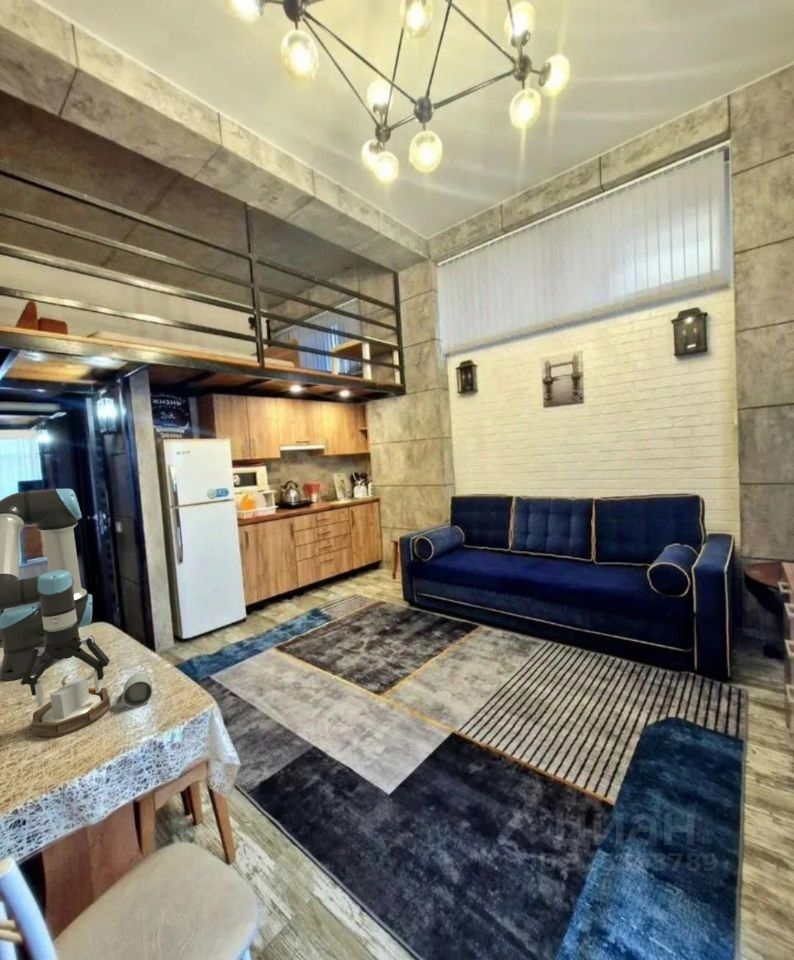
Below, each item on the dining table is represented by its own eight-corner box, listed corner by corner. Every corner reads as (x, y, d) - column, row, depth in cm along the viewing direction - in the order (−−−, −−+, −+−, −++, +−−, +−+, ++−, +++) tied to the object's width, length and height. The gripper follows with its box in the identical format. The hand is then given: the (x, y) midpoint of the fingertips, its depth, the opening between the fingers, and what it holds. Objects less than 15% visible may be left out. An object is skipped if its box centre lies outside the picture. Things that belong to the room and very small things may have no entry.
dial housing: (34, 716, 124) (32, 704, 124) (107, 691, 135) (106, 679, 135) (30, 748, 110) (28, 734, 110) (113, 717, 121) (111, 704, 121)
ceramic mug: (152, 689, 134) (149, 666, 134) (154, 702, 127) (150, 677, 127) (112, 702, 129) (109, 679, 128) (111, 716, 122) (108, 691, 121)
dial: (75, 727, 115) (71, 699, 115) (28, 728, 116) (24, 700, 115) (112, 697, 129) (108, 671, 128) (69, 698, 130) (66, 673, 129)
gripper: (-2, 642, 112) (9, 718, 114) (109, 621, 122) (118, 691, 124) (10, 631, 119) (21, 703, 121) (115, 612, 129) (123, 679, 130)
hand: (70, 697), depth 122 cm, fingers open, 13 cm apart
